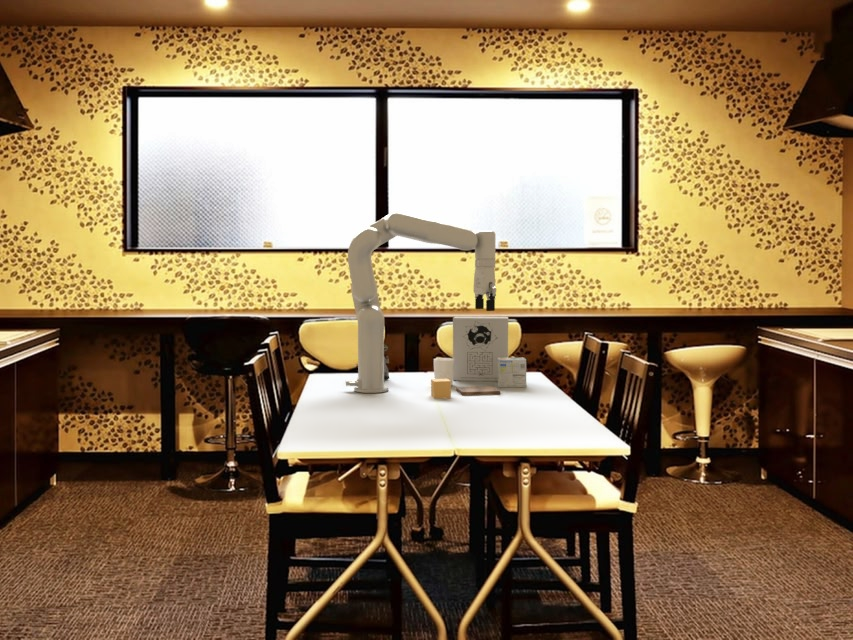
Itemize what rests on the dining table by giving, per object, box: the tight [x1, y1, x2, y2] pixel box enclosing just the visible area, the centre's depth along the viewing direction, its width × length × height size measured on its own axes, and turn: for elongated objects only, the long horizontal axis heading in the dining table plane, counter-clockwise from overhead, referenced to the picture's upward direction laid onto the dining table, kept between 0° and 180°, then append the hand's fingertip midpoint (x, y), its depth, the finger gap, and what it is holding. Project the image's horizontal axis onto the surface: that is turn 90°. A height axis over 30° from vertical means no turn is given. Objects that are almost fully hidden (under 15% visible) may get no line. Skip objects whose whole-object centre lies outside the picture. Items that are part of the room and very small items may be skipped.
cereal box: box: [452, 315, 509, 382], centre depth 367 cm, size 22×8×25 cm, turn 84°
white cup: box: [433, 357, 454, 386], centre depth 354 cm, size 8×8×10 cm
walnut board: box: [455, 385, 501, 396], centre depth 337 cm, size 14×11×1 cm
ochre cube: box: [430, 378, 452, 399], centre depth 328 cm, size 6×6×6 cm
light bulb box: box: [497, 356, 527, 388], centre depth 351 cm, size 11×7×11 cm, turn 92°
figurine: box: [355, 343, 390, 380], centre depth 367 cm, size 9×12×15 cm
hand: (484, 309), depth 343 cm, fingers open, 9 cm apart
